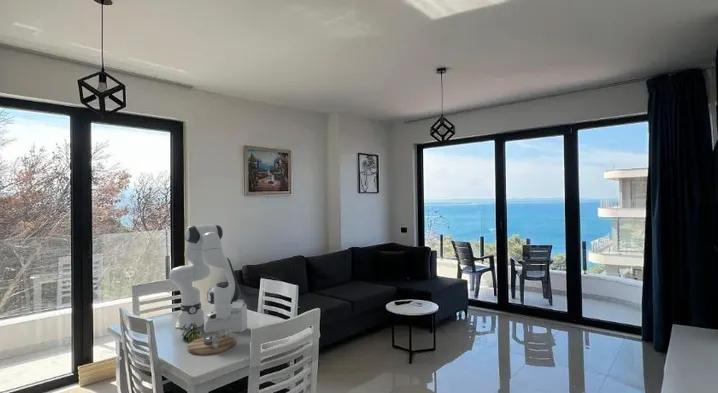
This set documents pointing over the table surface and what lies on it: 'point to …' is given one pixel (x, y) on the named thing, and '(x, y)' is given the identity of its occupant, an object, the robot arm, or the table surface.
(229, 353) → the table surface
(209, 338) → the pot lid
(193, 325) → the passion flower
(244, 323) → the milk carton
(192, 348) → the turntable
